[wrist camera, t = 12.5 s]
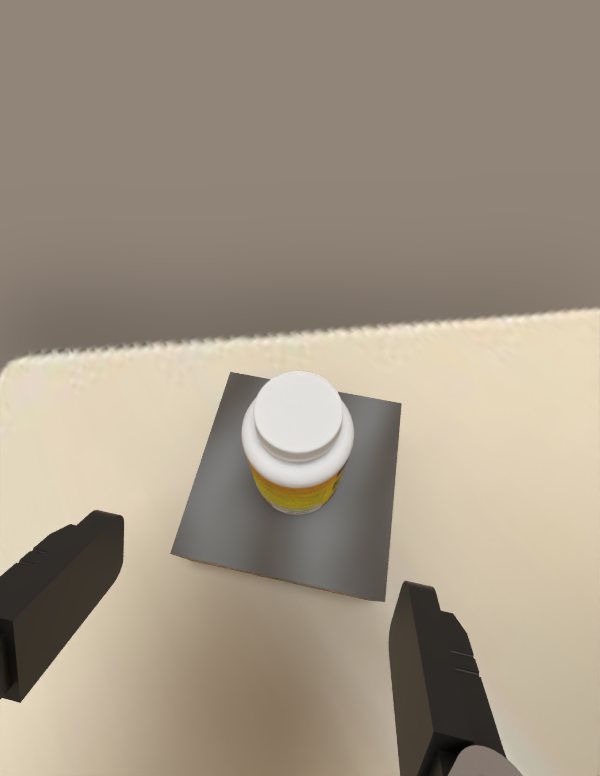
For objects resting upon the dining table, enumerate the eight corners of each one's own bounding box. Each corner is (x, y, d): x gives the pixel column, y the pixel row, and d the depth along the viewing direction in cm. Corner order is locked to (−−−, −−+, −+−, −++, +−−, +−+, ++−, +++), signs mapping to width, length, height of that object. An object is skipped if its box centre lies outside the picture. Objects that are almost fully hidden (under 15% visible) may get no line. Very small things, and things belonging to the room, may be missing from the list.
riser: (386, 428, 33) (401, 403, 28) (369, 600, 27) (384, 601, 22) (238, 400, 34) (230, 372, 29) (189, 559, 28) (170, 553, 23)
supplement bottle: (339, 518, 24) (365, 475, 15) (252, 515, 24) (226, 470, 15) (338, 435, 27) (359, 356, 18) (259, 432, 27) (240, 352, 18)
